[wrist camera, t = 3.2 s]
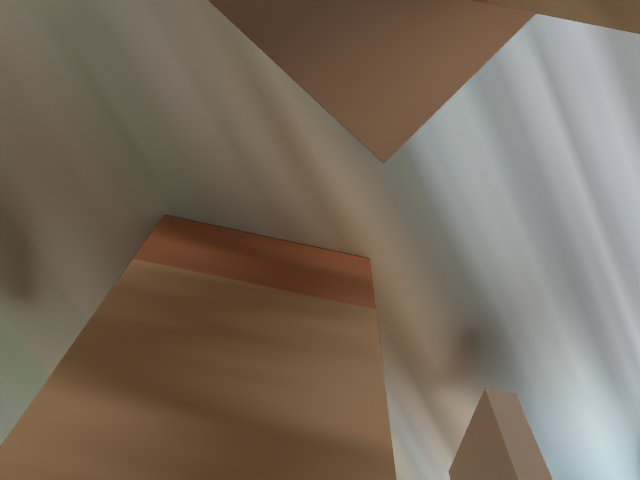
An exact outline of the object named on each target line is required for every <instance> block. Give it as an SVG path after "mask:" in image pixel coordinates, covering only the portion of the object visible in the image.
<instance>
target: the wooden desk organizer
mask: <svg viewBox="0 0 640 480" xmlns="http://www.w3.org/2000/svg"><path fill="white" fill-rule="evenodd" d="M209 1H210V2H211V3H212V4H213V5H214V6H215V7H216V8H217V9H218V10H219V11H220V12H221V13H223V14H224V15H225V16H226V17H227V18H228V19H229V20H230V21H231V22H232V23H233V24H234V25H235V26H236V27H238V28H239V29H240V30H241V31H242V32H243V33H244V34H245V35H246V36H247V37H248V38H249V39H250V40H251V41H252V42H254V43H255V44H256V45H257V46H258V47H259V48H260V49H261V50H262V51H263V52H264V53H265V54H266V55H267V56H269V57H270V58H271V59H272V60H273V61H274V62H275V63H276V64H277V65H278V66H279V67H280V68H281V69H282V70H284V71H285V72H286V73H287V74H288V75H289V76H290V77H291V78H292V79H293V80H294V81H295V82H296V83H297V84H299V85H300V86H301V87H302V88H303V89H304V90H305V91H306V92H307V93H308V94H309V95H310V96H311V97H312V98H314V99H315V100H316V101H317V102H318V103H319V104H320V105H321V106H322V107H323V108H324V109H325V110H326V111H327V112H328V113H330V114H331V115H332V116H333V117H334V118H335V119H336V120H337V121H338V122H339V123H340V124H341V125H342V126H343V127H345V128H346V129H347V130H348V131H349V132H350V133H351V134H352V135H353V136H354V137H355V138H356V139H357V140H358V141H360V142H361V143H362V144H363V145H364V146H365V147H366V148H367V149H368V150H369V151H370V152H371V153H372V154H373V155H375V156H376V157H377V158H378V159H379V160H380V161H381V162H382V163H383V164H384V163H385V162H386V161H387V160H388V159H389V158H390V157H391V156H392V155H393V154H394V153H395V152H396V151H397V150H398V149H399V148H400V147H401V146H402V145H403V144H404V143H405V142H406V141H407V140H408V139H409V138H410V137H411V136H412V135H413V134H414V133H415V132H416V131H417V130H418V129H419V128H420V127H421V126H422V125H423V124H424V123H425V122H426V121H427V120H428V119H429V118H430V117H431V116H432V115H433V114H434V113H435V112H436V111H437V110H438V109H439V108H440V107H441V106H442V105H443V104H444V103H445V102H446V101H448V100H449V99H450V98H451V97H452V96H453V95H454V94H455V93H456V92H457V91H458V90H459V89H460V88H461V87H462V86H463V85H464V84H465V83H466V82H467V81H468V80H469V79H470V78H471V77H472V76H473V75H474V74H475V73H476V72H477V71H478V70H479V69H480V68H481V67H482V66H483V65H484V64H485V63H486V62H487V61H488V60H489V59H490V58H491V57H492V56H493V55H494V54H495V53H496V52H497V51H498V50H499V49H500V48H501V47H502V46H503V45H504V44H505V43H506V42H507V41H508V40H509V39H510V38H511V37H512V36H513V35H514V34H515V33H517V32H518V31H519V30H520V29H521V28H522V27H523V26H524V25H525V24H526V23H527V22H528V21H529V20H530V19H531V18H532V17H533V16H534V15H535V14H536V13H537V14H542V15H547V16H552V17H557V18H562V19H567V20H572V21H577V22H582V23H587V24H592V25H598V26H603V27H608V28H613V29H618V30H623V31H628V32H633V33H638V34H640V0H209Z"/></svg>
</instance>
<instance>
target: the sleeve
mask: <svg viewBox="0 0 640 480" xmlns="http://www.w3.org/2000/svg"><path fill="white" fill-rule="evenodd" d="M0 480H396V473H395V465H394V456H393V448H392V440H391V432H390V424H389V415H388V407H387V399H386V391H385V382H384V374H383V366H382V358H381V349H380V341H379V333H378V325H377V317H376V308H375V300H374V292H373V284H372V275H371V267H370V259H368V258H363V257H358V256H354V255H349V254H344V253H340V252H335V251H330V250H326V249H321V248H316V247H312V246H307V245H302V244H298V243H293V242H288V241H284V240H279V239H274V238H270V237H265V236H260V235H256V234H251V233H246V232H241V231H237V230H232V229H227V228H223V227H218V226H213V225H209V224H204V223H199V222H195V221H190V220H185V219H181V218H176V217H171V216H167V215H164V216H163V217H162V218H161V220H160V221H159V223H158V224H157V225H156V227H155V228H154V230H153V231H152V233H151V234H150V235H149V237H148V238H147V240H146V241H145V242H144V244H143V245H142V247H141V248H140V250H139V251H138V252H137V254H136V255H135V257H134V258H133V259H132V261H131V262H130V264H129V265H128V267H127V268H126V269H125V271H124V272H123V274H122V275H121V276H120V278H119V279H118V281H117V282H116V284H115V285H114V286H113V288H112V289H111V291H110V292H109V293H108V295H107V296H106V298H105V299H104V301H103V302H102V303H101V305H100V306H99V308H98V309H97V310H96V312H95V313H94V315H93V316H92V317H91V319H90V320H89V322H88V323H87V325H86V326H85V327H84V329H83V330H82V332H81V333H80V334H79V336H78V337H77V339H76V340H75V342H74V343H73V344H72V346H71V347H70V349H69V350H68V351H67V353H66V354H65V356H64V357H63V359H62V360H61V361H60V363H59V364H58V366H57V367H56V368H55V370H54V371H53V373H52V374H51V376H50V377H49V378H48V380H47V381H46V383H45V384H44V385H43V387H42V388H41V390H40V391H39V393H38V394H37V395H36V397H35V398H34V400H33V401H32V402H31V404H30V405H29V407H28V408H27V410H26V411H25V412H24V414H23V415H22V417H21V418H20V419H19V421H18V422H17V424H16V425H15V426H14V428H13V429H12V431H11V432H10V434H9V435H8V436H7V438H6V439H5V441H4V442H3V443H2V445H1V446H0Z"/></svg>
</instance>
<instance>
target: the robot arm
mask: <svg viewBox="0 0 640 480" xmlns="http://www.w3.org/2000/svg"><path fill="white" fill-rule="evenodd" d="M449 474H450V479H451V480H552V477H551V475H550V473H549V470H548V468H547V466H546V463H545V461H544V459H543V456H542V454H541V452H540V449H539V447H538V445H537V442H536V440H535V438H534V435H533V433H532V431H531V428H530V426H529V424H528V421H527V419H526V417H525V414H524V412H523V410H522V407H521V405H520V403H519V400H518V398H517V396H516V394H514V393H509V392H504V391H499V390H494V389H489V388H485V389H484V391H483V394H482V396H481V398H480V400H479V403H478V405H477V407H476V410H475V412H474V414H473V417H472V419H471V421H470V424H469V426H468V428H467V430H466V433H465V435H464V437H463V440H462V442H461V444H460V447H459V449H458V451H457V454H456V456H455V458H454V460H453V463H452V465H451V467H450V470H449Z"/></svg>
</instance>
